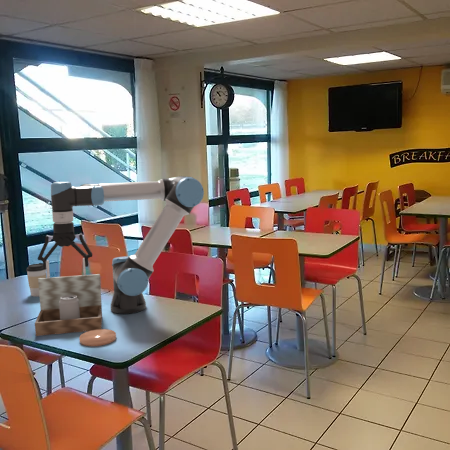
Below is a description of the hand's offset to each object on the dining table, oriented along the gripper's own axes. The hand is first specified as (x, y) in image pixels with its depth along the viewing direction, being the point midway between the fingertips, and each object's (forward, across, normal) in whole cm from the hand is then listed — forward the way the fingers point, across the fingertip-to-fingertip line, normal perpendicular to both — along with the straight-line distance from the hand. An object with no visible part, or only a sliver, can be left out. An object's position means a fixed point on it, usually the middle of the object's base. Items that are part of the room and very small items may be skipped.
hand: (66, 276), depth 196 cm
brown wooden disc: (+20, +11, -18) cm, 29 cm away
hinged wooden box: (+20, 0, 0) cm, 20 cm away
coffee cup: (+20, -19, +51) cm, 58 cm away
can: (+20, 0, 0) cm, 20 cm away
